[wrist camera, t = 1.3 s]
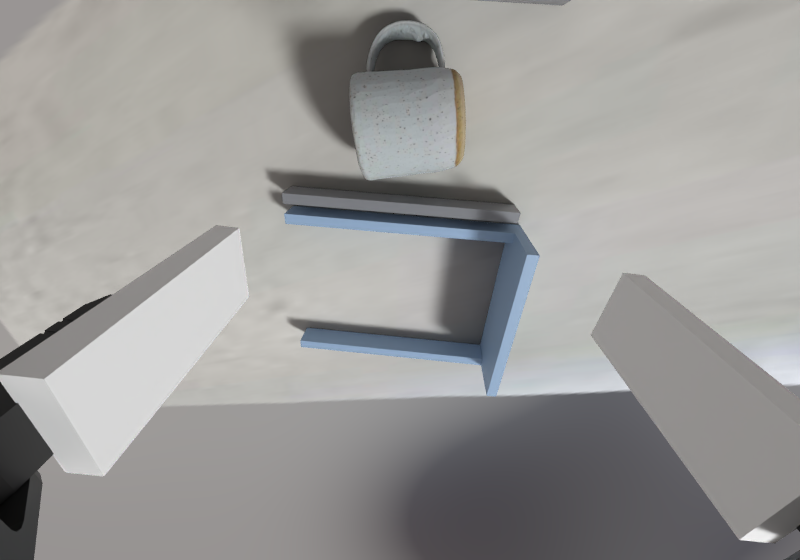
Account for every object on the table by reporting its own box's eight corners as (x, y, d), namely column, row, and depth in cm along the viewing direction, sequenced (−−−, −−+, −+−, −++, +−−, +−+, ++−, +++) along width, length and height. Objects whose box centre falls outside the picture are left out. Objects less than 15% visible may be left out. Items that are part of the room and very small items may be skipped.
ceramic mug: (460, 160, 30) (468, 178, 23) (373, 170, 31) (357, 190, 24) (455, 15, 25) (464, -14, 18) (351, 33, 26) (324, 11, 19)
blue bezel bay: (519, 224, 33) (539, 255, 27) (486, 351, 41) (496, 396, 35) (293, 205, 34) (263, 231, 28) (307, 333, 42) (287, 374, 36)
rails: (567, -13, 23) (580, -23, 21) (511, 214, 32) (517, 223, 30) (267, -30, 24) (251, -41, 22) (292, 196, 33) (283, 203, 31)
